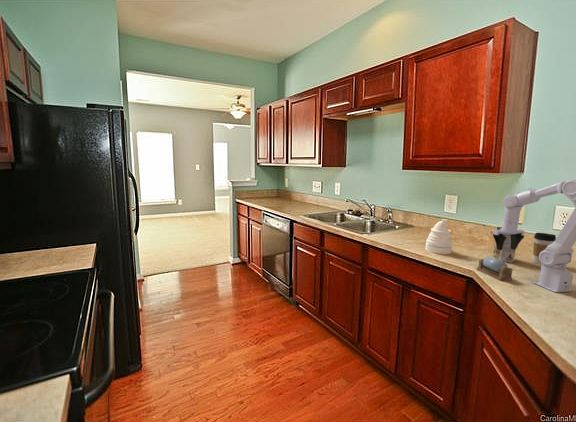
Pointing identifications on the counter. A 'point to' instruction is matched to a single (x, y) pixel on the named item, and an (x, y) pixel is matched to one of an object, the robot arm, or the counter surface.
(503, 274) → the roll cradle
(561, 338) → the counter surface
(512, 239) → the robot arm
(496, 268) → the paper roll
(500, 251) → the coffee box
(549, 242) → the coffee cup
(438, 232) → the honey pot
